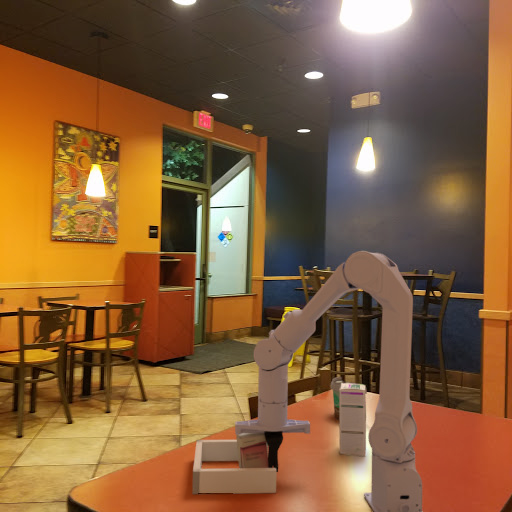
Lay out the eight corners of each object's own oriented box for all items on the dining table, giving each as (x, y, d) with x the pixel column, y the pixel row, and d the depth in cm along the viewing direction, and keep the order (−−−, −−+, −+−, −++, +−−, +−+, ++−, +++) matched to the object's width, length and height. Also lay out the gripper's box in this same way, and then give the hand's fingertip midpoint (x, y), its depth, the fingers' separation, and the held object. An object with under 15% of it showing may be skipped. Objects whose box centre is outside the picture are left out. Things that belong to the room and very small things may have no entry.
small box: (245, 481, 96) (241, 439, 96) (239, 472, 100) (235, 432, 100) (270, 475, 97) (266, 434, 97) (263, 467, 101) (259, 427, 101)
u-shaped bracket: (276, 492, 91) (276, 470, 91) (192, 494, 90) (192, 471, 90) (267, 458, 107) (267, 439, 107) (196, 459, 106) (196, 439, 106)
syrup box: (366, 457, 109) (366, 389, 109) (338, 454, 110) (339, 387, 111) (365, 447, 115) (366, 383, 115) (339, 445, 116) (340, 382, 116)
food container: (321, 413, 141) (321, 377, 141) (339, 411, 144) (340, 376, 144) (347, 426, 130) (347, 387, 130) (366, 424, 132) (367, 385, 133)
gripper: (306, 394, 103) (305, 461, 102) (235, 394, 102) (234, 462, 101) (312, 403, 96) (311, 475, 95) (236, 404, 95) (235, 477, 94)
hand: (272, 470), depth 98 cm, fingers closed, pressing on small box
